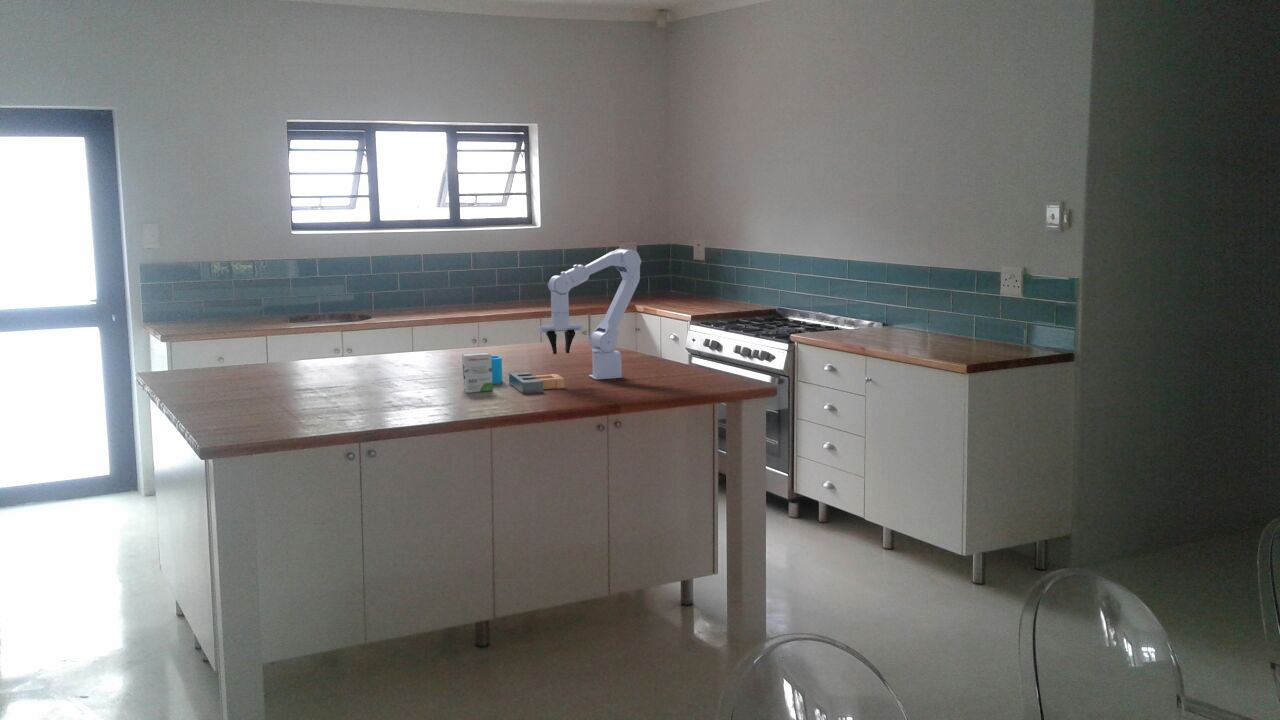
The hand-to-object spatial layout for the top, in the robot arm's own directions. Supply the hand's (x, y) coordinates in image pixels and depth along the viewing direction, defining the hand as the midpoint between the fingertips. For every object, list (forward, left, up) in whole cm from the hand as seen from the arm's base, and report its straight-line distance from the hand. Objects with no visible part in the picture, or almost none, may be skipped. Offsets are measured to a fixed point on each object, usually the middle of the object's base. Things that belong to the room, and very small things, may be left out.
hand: (561, 353), depth 372 cm
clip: (+6, +7, -9) cm, 13 cm away
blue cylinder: (+22, -11, -10) cm, 26 cm away
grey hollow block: (+14, +7, -9) cm, 18 cm away
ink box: (+29, +6, -10) cm, 31 cm away
